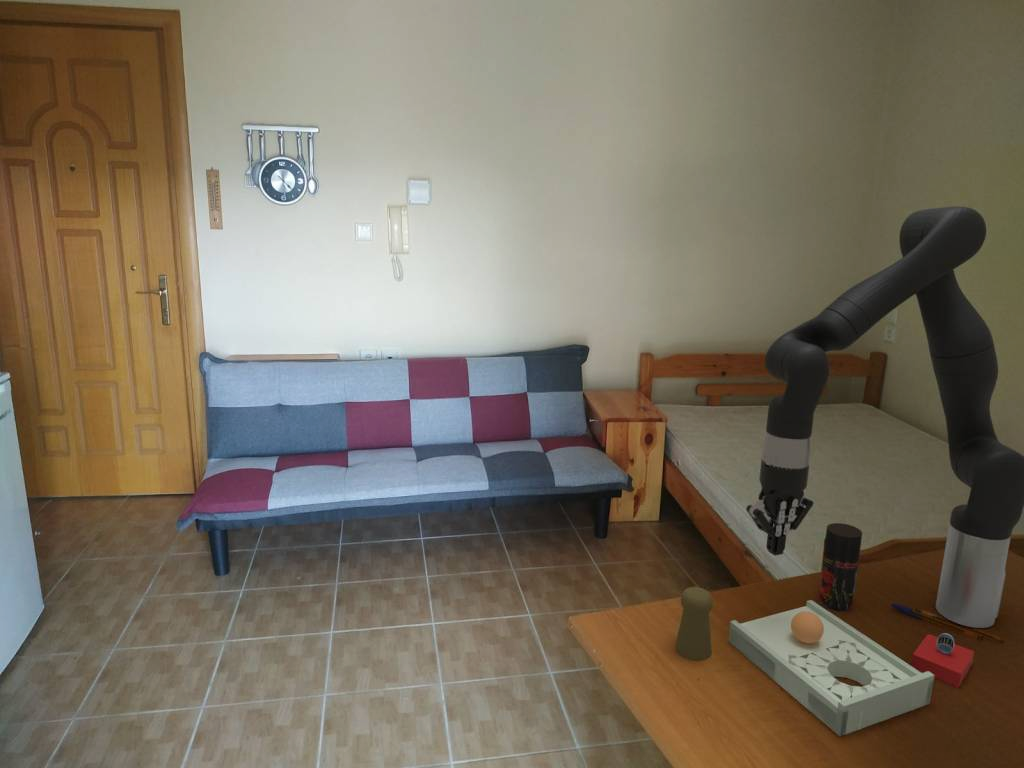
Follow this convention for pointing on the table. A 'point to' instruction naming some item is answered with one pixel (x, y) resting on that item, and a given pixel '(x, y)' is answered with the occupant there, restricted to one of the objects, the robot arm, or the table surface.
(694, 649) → the olive pepper shaker
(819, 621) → the ball
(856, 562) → the deodorant
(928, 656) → the red slab
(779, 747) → the table surface
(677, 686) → the table surface
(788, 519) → the robot arm
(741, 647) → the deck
